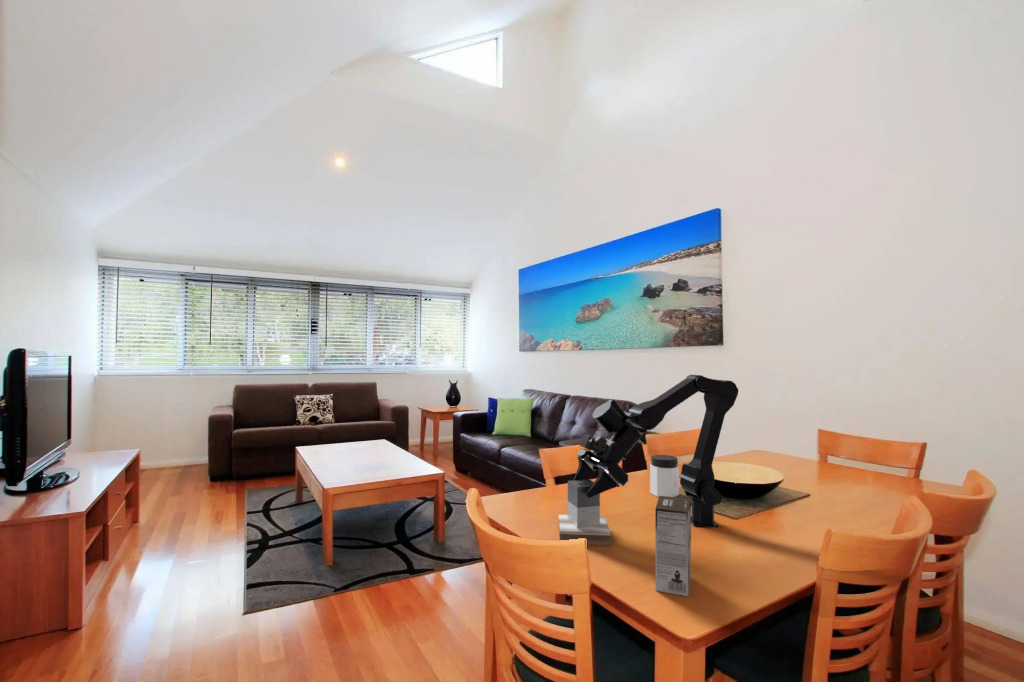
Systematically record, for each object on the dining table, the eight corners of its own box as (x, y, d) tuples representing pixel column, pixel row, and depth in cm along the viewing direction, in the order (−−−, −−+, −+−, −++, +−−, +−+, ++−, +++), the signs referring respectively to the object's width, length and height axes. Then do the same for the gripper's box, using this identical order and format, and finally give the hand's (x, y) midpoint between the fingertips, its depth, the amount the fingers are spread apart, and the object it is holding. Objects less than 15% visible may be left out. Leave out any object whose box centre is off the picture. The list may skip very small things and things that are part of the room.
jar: (669, 500, 151) (669, 461, 151) (645, 494, 157) (646, 457, 157) (682, 494, 157) (682, 457, 158) (660, 489, 163) (660, 453, 163)
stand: (610, 545, 115) (610, 532, 115) (559, 543, 116) (560, 531, 116) (604, 527, 127) (604, 515, 127) (558, 525, 128) (558, 514, 128)
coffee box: (658, 571, 102) (658, 494, 102) (691, 576, 99) (691, 498, 100) (654, 591, 93) (654, 507, 94) (690, 597, 91) (690, 511, 91)
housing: (589, 518, 125) (589, 479, 125) (599, 526, 119) (599, 485, 120) (567, 520, 123) (567, 480, 124) (577, 528, 118) (577, 487, 118)
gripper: (583, 418, 132) (545, 461, 129) (616, 429, 114) (573, 479, 111) (610, 446, 134) (572, 489, 131) (646, 460, 116) (604, 511, 113)
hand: (579, 491), depth 121 cm, fingers open, 9 cm apart
